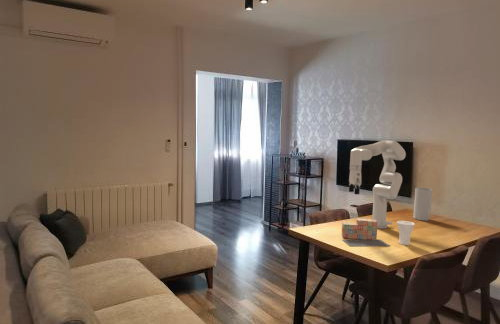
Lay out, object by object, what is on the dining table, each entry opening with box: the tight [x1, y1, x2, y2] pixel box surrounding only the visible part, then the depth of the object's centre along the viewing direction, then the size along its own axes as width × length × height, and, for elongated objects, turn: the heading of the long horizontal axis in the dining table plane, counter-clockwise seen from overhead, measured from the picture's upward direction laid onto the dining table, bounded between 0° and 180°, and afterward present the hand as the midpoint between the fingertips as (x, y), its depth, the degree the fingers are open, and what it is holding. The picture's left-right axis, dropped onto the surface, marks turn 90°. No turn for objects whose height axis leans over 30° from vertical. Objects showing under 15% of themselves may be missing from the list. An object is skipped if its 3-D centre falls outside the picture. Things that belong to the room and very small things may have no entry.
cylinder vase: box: [412, 187, 433, 222], centre depth 301 cm, size 12×12×25 cm
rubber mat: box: [342, 238, 391, 247], centre depth 232 cm, size 26×13×1 cm, turn 98°
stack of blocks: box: [341, 218, 378, 240], centre depth 241 cm, size 21×6×12 cm, turn 84°
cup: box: [396, 220, 415, 246], centre depth 232 cm, size 10×10×14 cm
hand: (354, 192), depth 250 cm, fingers open, 8 cm apart
